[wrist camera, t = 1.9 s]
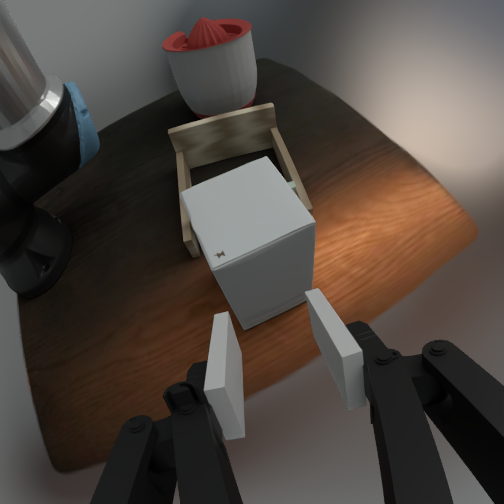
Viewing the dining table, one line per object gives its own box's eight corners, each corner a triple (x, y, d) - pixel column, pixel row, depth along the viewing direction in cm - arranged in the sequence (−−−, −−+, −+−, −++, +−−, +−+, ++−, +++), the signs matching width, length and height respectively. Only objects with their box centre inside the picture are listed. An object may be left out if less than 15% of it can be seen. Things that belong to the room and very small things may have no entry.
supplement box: (314, 298, 36) (320, 223, 23) (243, 332, 35) (209, 273, 23) (280, 240, 41) (268, 152, 28) (215, 269, 40) (176, 191, 27)
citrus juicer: (238, 77, 64) (222, 0, 47) (278, 109, 56) (265, 13, 39) (175, 103, 62) (147, 25, 45) (201, 141, 54) (169, 42, 37)
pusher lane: (193, 258, 41) (172, 222, 34) (183, 165, 51) (168, 129, 44) (312, 227, 41) (313, 186, 34) (276, 141, 51) (272, 102, 44)
